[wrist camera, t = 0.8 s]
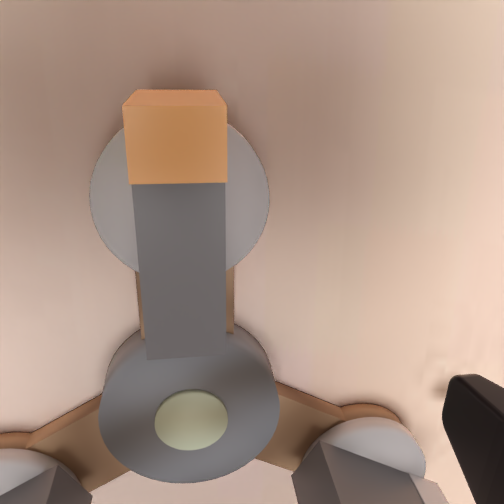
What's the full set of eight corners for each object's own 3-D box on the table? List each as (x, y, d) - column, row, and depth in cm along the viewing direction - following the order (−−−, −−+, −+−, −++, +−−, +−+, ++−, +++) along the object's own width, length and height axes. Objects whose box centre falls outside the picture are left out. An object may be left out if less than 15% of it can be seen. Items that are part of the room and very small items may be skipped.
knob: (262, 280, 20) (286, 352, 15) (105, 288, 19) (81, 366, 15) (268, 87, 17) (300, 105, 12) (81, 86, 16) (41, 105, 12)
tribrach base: (418, 454, 27) (440, 491, 25) (110, 609, 29) (105, 657, 27) (206, 78, 18) (210, 84, 15) (-232, 346, 20) (-286, 386, 17)
